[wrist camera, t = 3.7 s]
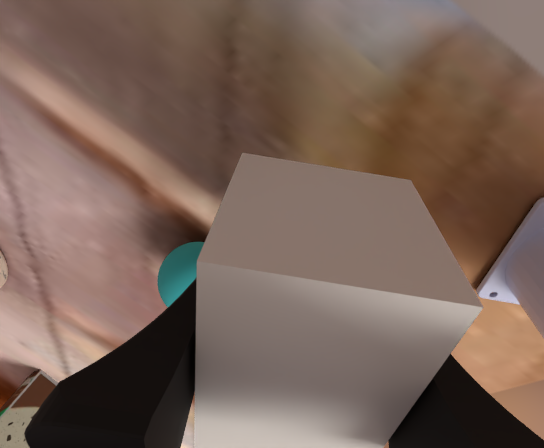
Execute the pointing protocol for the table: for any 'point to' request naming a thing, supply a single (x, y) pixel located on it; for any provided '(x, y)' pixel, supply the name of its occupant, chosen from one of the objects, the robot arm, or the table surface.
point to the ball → (178, 271)
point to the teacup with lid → (3, 270)
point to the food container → (23, 409)
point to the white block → (320, 308)
